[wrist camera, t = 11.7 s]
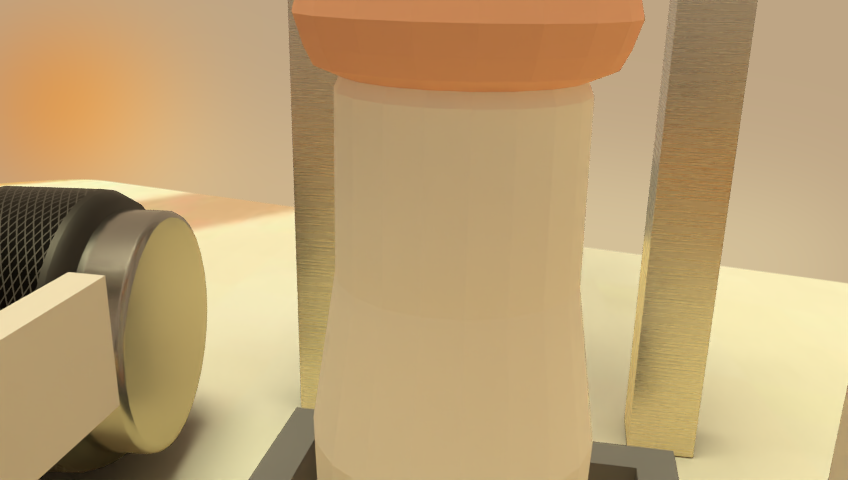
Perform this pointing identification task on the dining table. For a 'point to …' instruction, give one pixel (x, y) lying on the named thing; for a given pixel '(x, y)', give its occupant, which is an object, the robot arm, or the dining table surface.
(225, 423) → the dining table surface
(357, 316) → the pepper shaker
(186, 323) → the muzzle brake
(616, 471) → the grey shallow square frame
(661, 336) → the frame
